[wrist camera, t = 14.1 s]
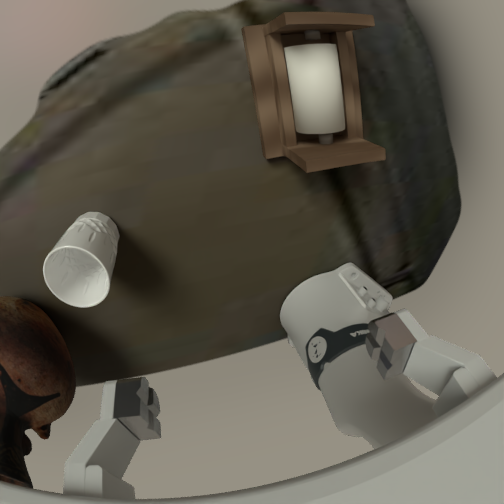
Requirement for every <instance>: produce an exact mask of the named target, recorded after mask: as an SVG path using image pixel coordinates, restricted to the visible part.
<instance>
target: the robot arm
mask: <svg viewBox="0 0 504 504" xmlns="http://www.w3.org/2000/svg"><path fill="white" fill-rule="evenodd" d="M352 273H353V274H352ZM392 299H393V298H392V296H391V294H390V293H389V292H388V291H387V290H385V289H384V288H383V287H382V286H380V285H379V284H378V283H377V282H376V281H374V280H373V279H372V278H371V277H369V276H368V275H367V274H366V273H364V272H363V271H362V270H361V269H359V268H358V267H357V266H356V265H354V264H353V263H346V264H344V265H342V266H341V267H339V268H337V269H336V270H334V271H331V272H327V273H323V274H319V275H316V276H314V277H311V278H309V279H307V280H306V281H304V282H302V283H301V284H300V285H298V286H297V287H296V288H295V289H294V290H293V291H292V292H291V293H290V294H289V295H288V297H287V298H286V300H285V301H284V303H283V305H282V308H281V312H280V320H281V324H282V326H283V327H284V329H285V330H286V332H287V334H288V343H289V344H290V346H291V347H294V348H295V349H296V350H297V352H298V354H299V356H300V357H301V359H302V361H303V363H304V365H305V366H306V368H307V369H308V370H309V372H310V374H311V378H312V380H313V382H314V383H315V385H316V387H317V388H318V389H319V390H320V391H321V392H322V394H323V396H324V398H325V401H326V403H327V406H328V408H329V410H330V413H331V415H332V417H333V420H334V422H335V425H336V427H337V428H338V429H339V430H340V431H341V432H342V433H344V434H346V435H348V436H353V437H363V438H364V439H366V440H367V441H368V442H369V443H370V444H371V445H372V446H373V448H374V450H372V451H370V452H367V453H365V454H363V455H360V456H357V457H355V458H352V459H350V460H347V461H344V462H342V463H339V464H336V465H333V466H330V467H328V468H324V469H322V470H318V471H315V472H312V473H309V474H306V475H302V476H298V477H295V478H291V479H287V480H283V481H279V482H275V483H272V484H267V485H262V486H258V487H253V488H248V489H242V490H237V491H231V492H225V493H218V494H210V495H203V496H193V497H181V498H165V499H135V492H134V487H133V486H132V485H130V484H128V483H127V482H125V481H123V480H122V477H123V475H124V473H125V471H126V469H127V467H128V465H129V463H130V461H131V459H132V457H133V455H134V453H135V451H136V449H137V447H138V445H139V443H140V440H149V439H157V438H161V427H160V422H159V420H158V419H157V418H156V417H157V416H158V414H159V413H160V405H159V401H158V397H157V394H156V392H155V391H154V389H152V388H150V387H149V386H148V384H149V383H148V381H147V379H146V378H145V377H140V378H131V379H122V380H113V381H106V382H105V384H104V386H103V394H102V403H101V412H100V420H96V421H95V422H94V424H93V425H92V426H91V428H90V429H89V431H88V432H87V433H86V435H85V436H84V437H83V439H82V440H81V442H80V443H79V444H78V446H77V447H76V449H75V450H74V451H73V453H72V454H71V455H70V457H69V458H68V460H67V461H66V462H65V471H64V488H63V494H60V493H54V492H48V491H42V490H37V489H32V488H27V487H23V486H19V485H15V484H11V483H7V482H4V481H0V504H504V373H503V374H502V375H501V376H499V377H498V378H497V377H496V376H495V374H494V373H493V372H492V370H491V369H490V368H489V367H488V365H487V364H486V363H485V361H484V360H483V359H482V358H481V356H480V355H478V354H476V353H473V352H471V351H468V350H466V349H464V348H461V347H459V346H456V345H454V344H452V343H449V342H447V341H445V340H442V339H440V338H438V337H435V336H433V335H431V336H428V335H427V333H426V332H425V331H424V330H423V328H422V327H421V326H420V325H419V323H418V322H417V321H416V320H415V318H414V317H413V316H412V315H411V314H410V312H409V311H408V310H407V309H405V308H404V309H401V310H398V311H396V312H393V313H389V312H388V310H389V308H390V305H391V303H392ZM408 377H409V378H411V379H412V380H414V381H416V382H417V383H419V384H420V385H422V386H424V387H425V388H427V389H429V390H430V391H432V392H434V393H435V394H437V395H439V397H438V399H437V400H434V399H432V398H430V397H428V396H426V395H425V394H423V393H422V392H421V391H419V390H418V389H417V388H416V387H415V386H414V385H413V384H412V383H411V381H410V380H409V379H408Z"/></svg>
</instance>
